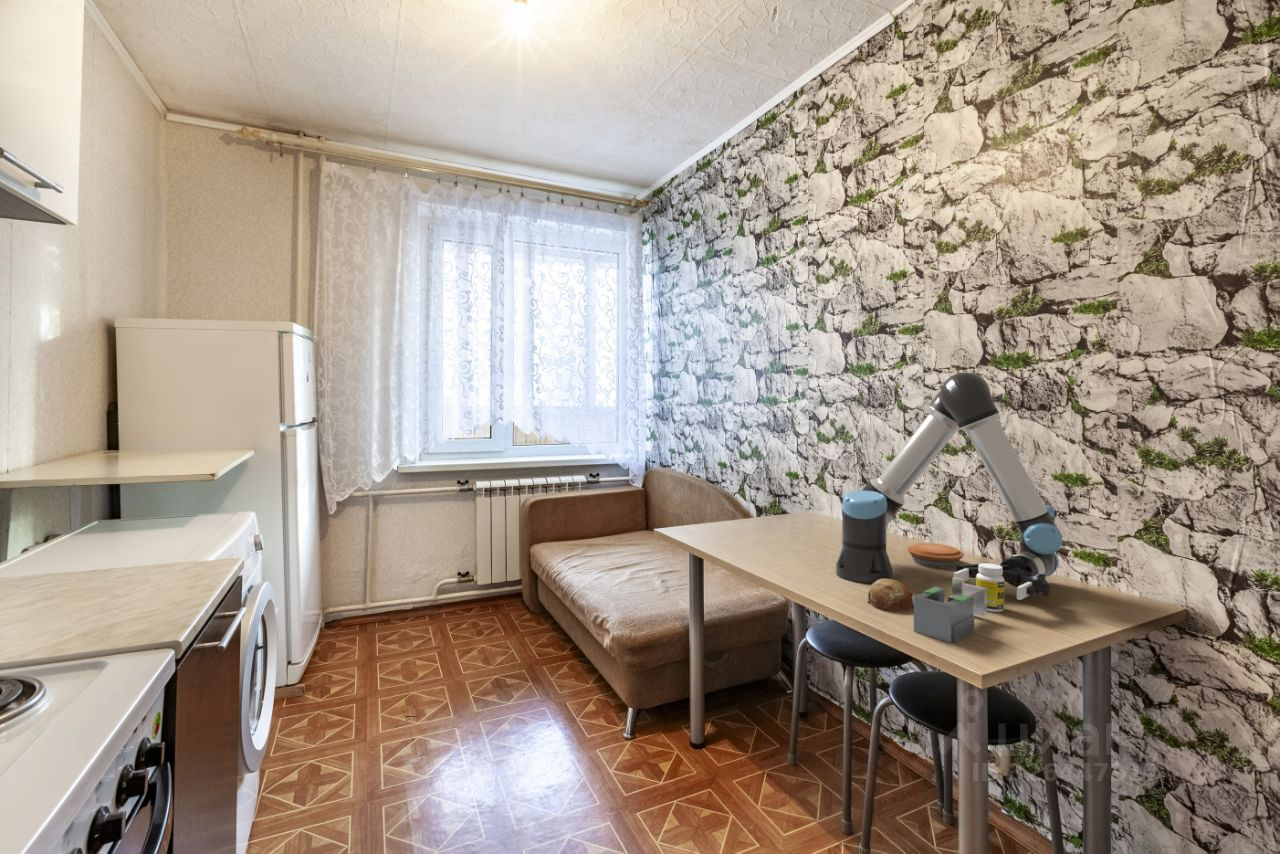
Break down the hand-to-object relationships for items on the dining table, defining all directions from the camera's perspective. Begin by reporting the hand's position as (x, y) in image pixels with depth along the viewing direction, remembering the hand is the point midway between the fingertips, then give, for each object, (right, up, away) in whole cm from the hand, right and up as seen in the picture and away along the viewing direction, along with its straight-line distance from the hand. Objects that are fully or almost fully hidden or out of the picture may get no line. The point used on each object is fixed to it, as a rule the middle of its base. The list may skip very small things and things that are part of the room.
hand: (985, 585), depth 129 cm
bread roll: (-20, -6, +5) cm, 21 cm away
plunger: (-8, -5, -6) cm, 11 cm away
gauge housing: (-16, -6, -11) cm, 21 cm away
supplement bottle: (+2, -6, +2) cm, 7 cm away
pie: (+10, -5, +41) cm, 43 cm away
